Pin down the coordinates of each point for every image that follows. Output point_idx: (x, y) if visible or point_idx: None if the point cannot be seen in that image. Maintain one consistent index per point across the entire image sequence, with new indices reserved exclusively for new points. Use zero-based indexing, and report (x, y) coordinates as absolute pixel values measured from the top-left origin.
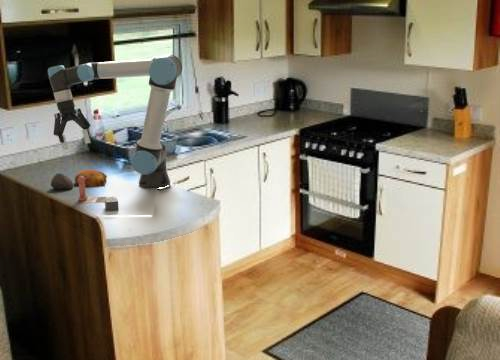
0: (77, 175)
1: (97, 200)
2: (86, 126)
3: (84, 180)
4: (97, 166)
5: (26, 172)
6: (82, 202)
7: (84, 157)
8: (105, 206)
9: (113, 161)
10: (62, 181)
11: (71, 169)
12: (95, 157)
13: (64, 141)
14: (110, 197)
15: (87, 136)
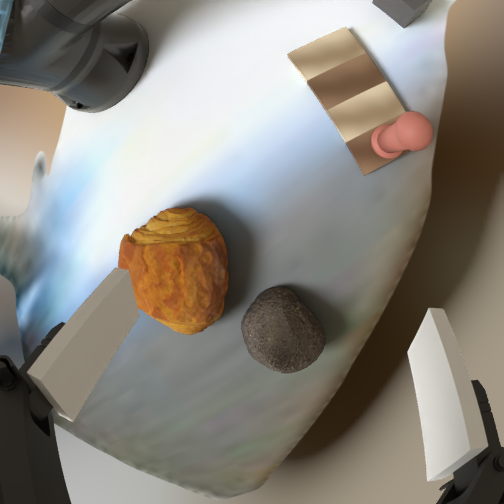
0: (207, 317)
1: (363, 85)
2: (5, 396)
3: (411, 111)
4: None
5: (210, 469)
6: None
7: None
8: (415, 15)
9: (27, 334)
10: (299, 324)
11: (121, 398)
12: None
13: (463, 382)
14: (305, 65)
15: (90, 318)
